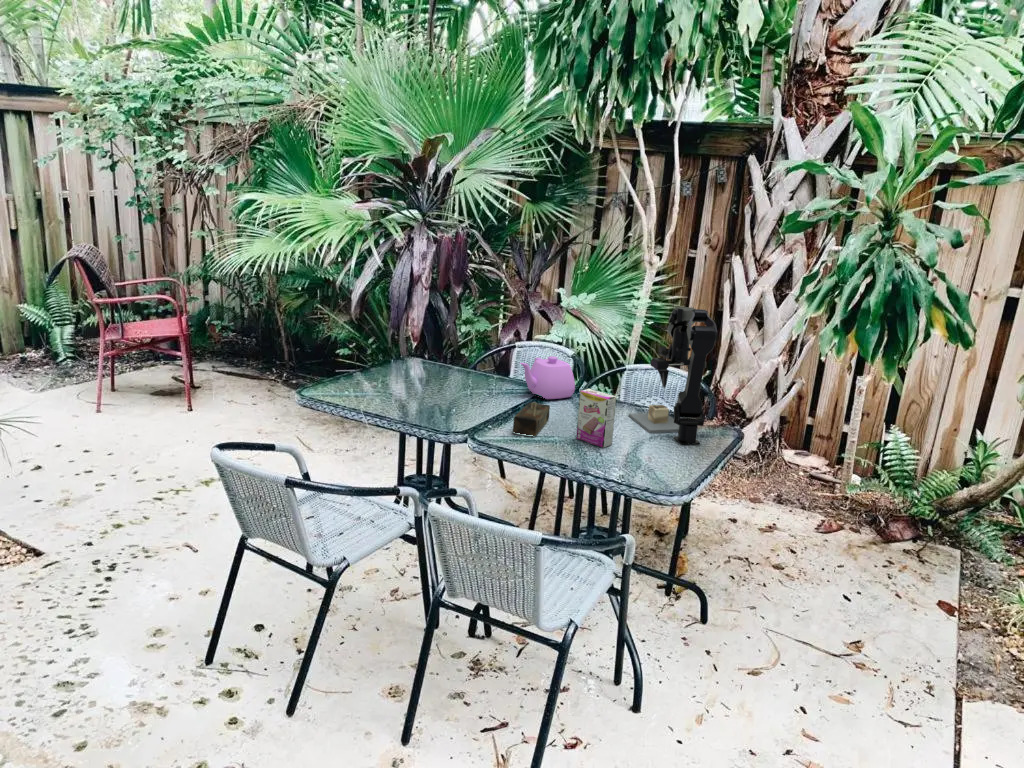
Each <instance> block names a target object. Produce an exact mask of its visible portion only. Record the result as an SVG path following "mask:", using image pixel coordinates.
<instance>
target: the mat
mask: <svg viewBox="0 0 1024 768" xmlns="http://www.w3.org/2000/svg"><path fill="white" fill-rule="evenodd" d="M648 413H649V412H638V413H637V412H636V413H628V418H630V419H631V420H632V421H633V422H635V423H636V424H637V425H639V426H640V427H641V428H642V429H644V430H645V431H646V432H648V433H649V434H663V433H678V431H679V425H677V424H676V423H674V417H672V416H671V415H669V414H668V421H667V423H656V424H654V423H653V422H651V421H650V420H649V419H648Z"/></svg>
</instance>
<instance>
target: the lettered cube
mask: <svg viewBox="0 0 1024 768" xmlns="http://www.w3.org/2000/svg"><path fill="white" fill-rule="evenodd" d="M669 410H670V409H669V408H667V406H664V405H663V404H650V405H649V406H648V412H647V413H648V419H649V420H650V421H651V422H653V423H654V424H656V423H667V421H668V415H669Z"/></svg>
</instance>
